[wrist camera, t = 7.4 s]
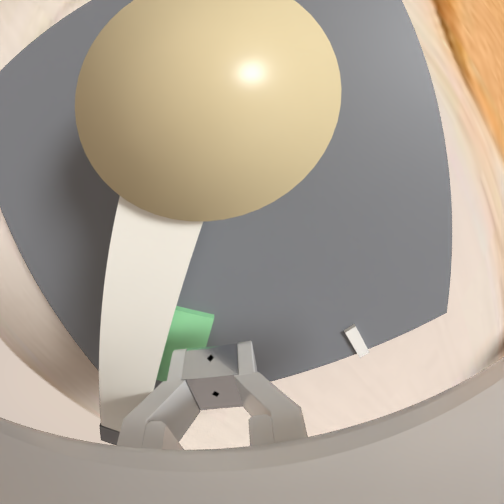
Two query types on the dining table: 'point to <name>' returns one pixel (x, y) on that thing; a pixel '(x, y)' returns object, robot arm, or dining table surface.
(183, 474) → the robot arm
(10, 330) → the dining table surface
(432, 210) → the dial board
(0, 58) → the dining table surface
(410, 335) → the dining table surface
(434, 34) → the dining table surface
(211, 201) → the dial lever
